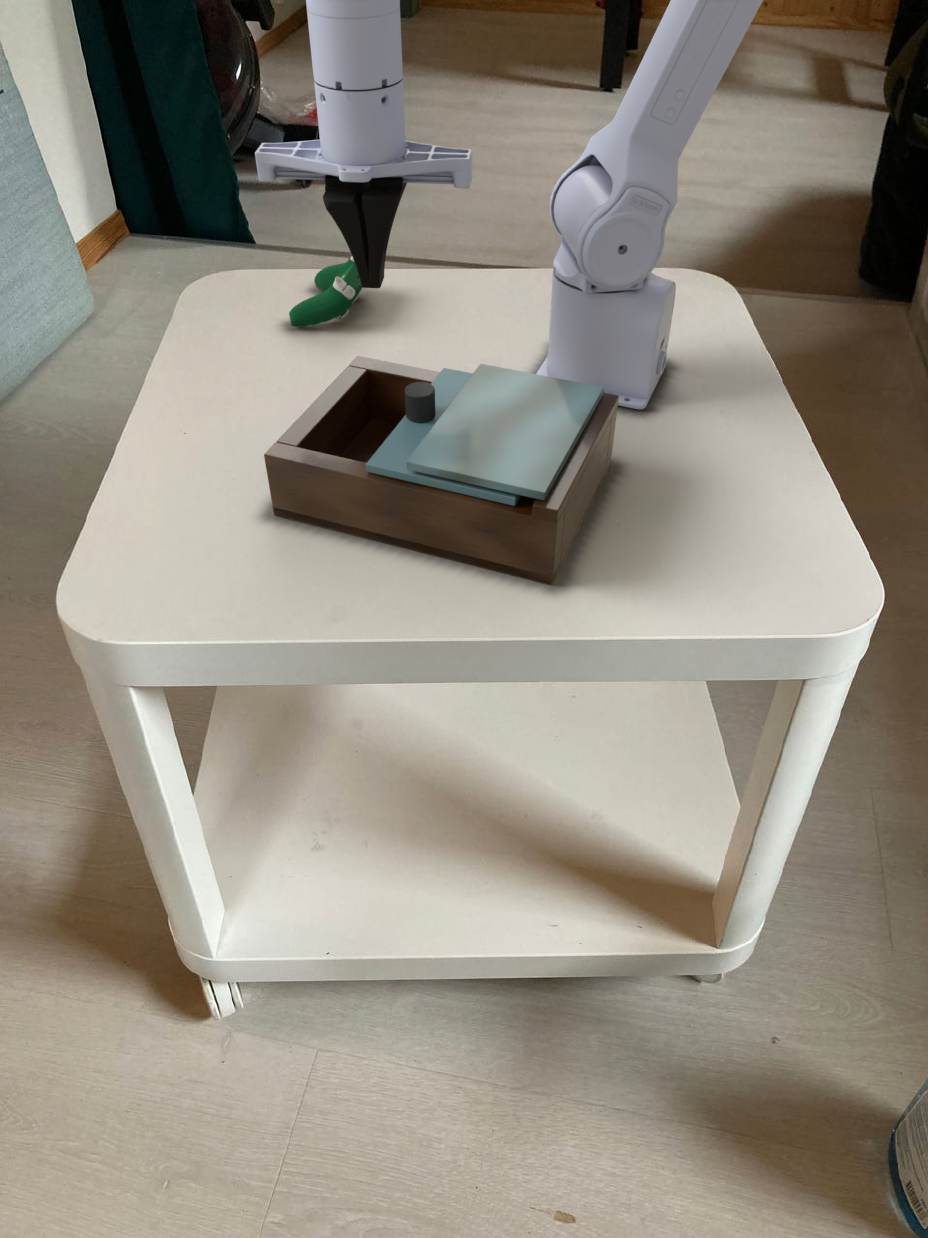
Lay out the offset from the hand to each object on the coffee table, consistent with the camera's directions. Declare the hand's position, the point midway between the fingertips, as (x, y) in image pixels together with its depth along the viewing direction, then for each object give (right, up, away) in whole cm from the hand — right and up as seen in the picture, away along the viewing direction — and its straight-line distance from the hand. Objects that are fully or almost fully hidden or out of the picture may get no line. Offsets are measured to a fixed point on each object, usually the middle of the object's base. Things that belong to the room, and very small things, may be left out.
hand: (372, 282), depth 72 cm
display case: (+5, -16, -3) cm, 17 cm away
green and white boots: (-5, +3, +17) cm, 18 cm away
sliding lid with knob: (+8, -13, -7) cm, 16 cm away
